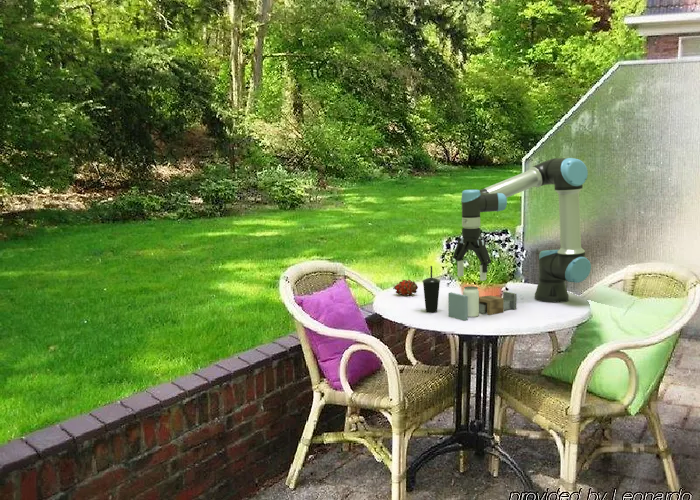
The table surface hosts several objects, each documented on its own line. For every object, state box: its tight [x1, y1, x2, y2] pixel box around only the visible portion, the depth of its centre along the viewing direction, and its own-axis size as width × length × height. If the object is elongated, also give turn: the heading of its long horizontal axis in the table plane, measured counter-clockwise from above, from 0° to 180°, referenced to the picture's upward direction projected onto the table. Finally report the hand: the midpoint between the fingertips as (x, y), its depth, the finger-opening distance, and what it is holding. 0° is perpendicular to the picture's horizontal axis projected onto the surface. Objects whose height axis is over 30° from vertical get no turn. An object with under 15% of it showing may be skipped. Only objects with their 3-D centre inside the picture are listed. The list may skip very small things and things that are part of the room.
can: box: [462, 285, 480, 318], centre depth 293 cm, size 6×6×12 cm
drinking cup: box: [422, 265, 441, 314], centre depth 301 cm, size 8×8×20 cm
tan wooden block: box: [479, 295, 504, 316], centre depth 299 cm, size 8×8×6 cm
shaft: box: [479, 291, 518, 314], centre depth 301 cm, size 18×6×7 cm, turn 123°
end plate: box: [447, 291, 469, 322], centre depth 289 cm, size 2×10×10 cm, turn 33°
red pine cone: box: [392, 279, 419, 297], centre depth 338 cm, size 8×8×12 cm
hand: (471, 278), depth 292 cm, fingers open, 13 cm apart
